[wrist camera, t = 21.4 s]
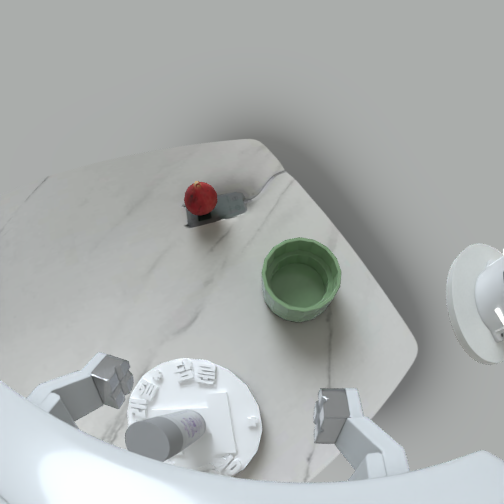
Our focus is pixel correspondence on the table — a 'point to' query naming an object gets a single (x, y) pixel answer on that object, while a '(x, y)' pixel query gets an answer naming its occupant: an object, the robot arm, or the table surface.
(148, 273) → the table surface
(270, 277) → the green faceted pot
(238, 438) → the giant coin
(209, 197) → the onion
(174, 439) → the container
